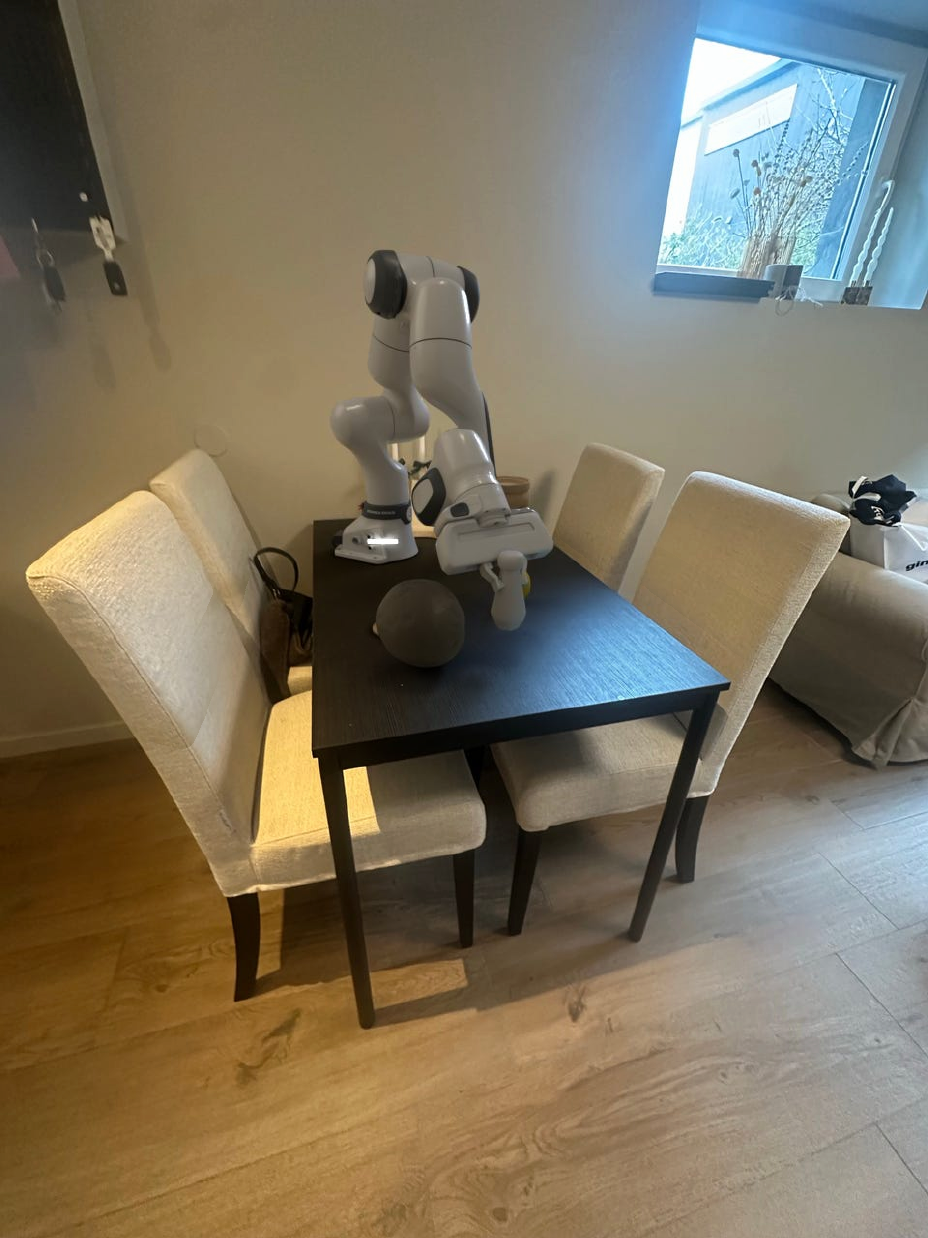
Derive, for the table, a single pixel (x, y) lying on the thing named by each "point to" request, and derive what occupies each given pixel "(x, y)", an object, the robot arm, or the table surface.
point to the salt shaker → (509, 592)
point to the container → (515, 491)
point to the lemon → (526, 587)
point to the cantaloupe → (421, 623)
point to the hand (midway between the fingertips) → (511, 587)
